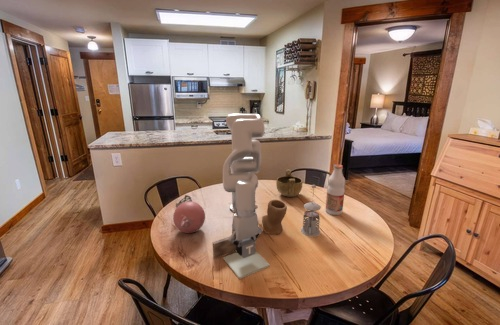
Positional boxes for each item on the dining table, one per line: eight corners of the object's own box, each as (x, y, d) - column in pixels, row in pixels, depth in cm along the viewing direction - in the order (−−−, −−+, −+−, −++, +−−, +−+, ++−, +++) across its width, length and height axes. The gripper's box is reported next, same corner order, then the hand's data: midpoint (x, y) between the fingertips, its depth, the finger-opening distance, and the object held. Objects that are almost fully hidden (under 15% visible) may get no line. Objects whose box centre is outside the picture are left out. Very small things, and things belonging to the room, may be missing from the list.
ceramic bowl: (304, 202, 161) (305, 180, 157) (277, 202, 161) (277, 179, 157) (299, 188, 182) (300, 168, 178) (275, 188, 183) (275, 168, 178)
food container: (187, 221, 139) (186, 204, 136) (177, 220, 140) (175, 203, 137) (196, 211, 150) (195, 195, 147) (186, 210, 151) (185, 194, 149)
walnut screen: (252, 242, 120) (252, 228, 118) (254, 243, 119) (254, 230, 117) (213, 256, 110) (212, 242, 108) (214, 258, 109) (214, 244, 107)
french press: (321, 228, 132) (325, 182, 125) (319, 240, 121) (323, 191, 114) (302, 224, 135) (304, 180, 128) (298, 236, 125) (301, 188, 117)
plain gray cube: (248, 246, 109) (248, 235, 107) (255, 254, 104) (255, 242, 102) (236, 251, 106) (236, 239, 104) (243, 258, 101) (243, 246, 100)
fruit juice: (323, 207, 154) (327, 162, 146) (339, 208, 153) (344, 163, 145) (327, 215, 145) (331, 168, 137) (344, 215, 144) (349, 168, 136)
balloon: (165, 244, 119) (162, 214, 115) (181, 222, 138) (178, 195, 134) (197, 246, 118) (195, 215, 113) (209, 223, 137) (207, 197, 132)
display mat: (251, 248, 116) (251, 246, 115) (269, 266, 104) (269, 264, 104) (223, 258, 109) (223, 257, 108) (239, 279, 97) (239, 277, 97)
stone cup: (287, 236, 125) (288, 208, 121) (262, 235, 125) (263, 208, 121) (283, 220, 140) (284, 195, 135) (261, 220, 140) (262, 194, 136)
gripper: (258, 202, 107) (258, 240, 112) (221, 212, 98) (222, 253, 104) (269, 209, 101) (268, 249, 106) (230, 220, 92) (231, 263, 97)
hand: (245, 250), depth 105 cm, fingers closed on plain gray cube, 5 cm apart
